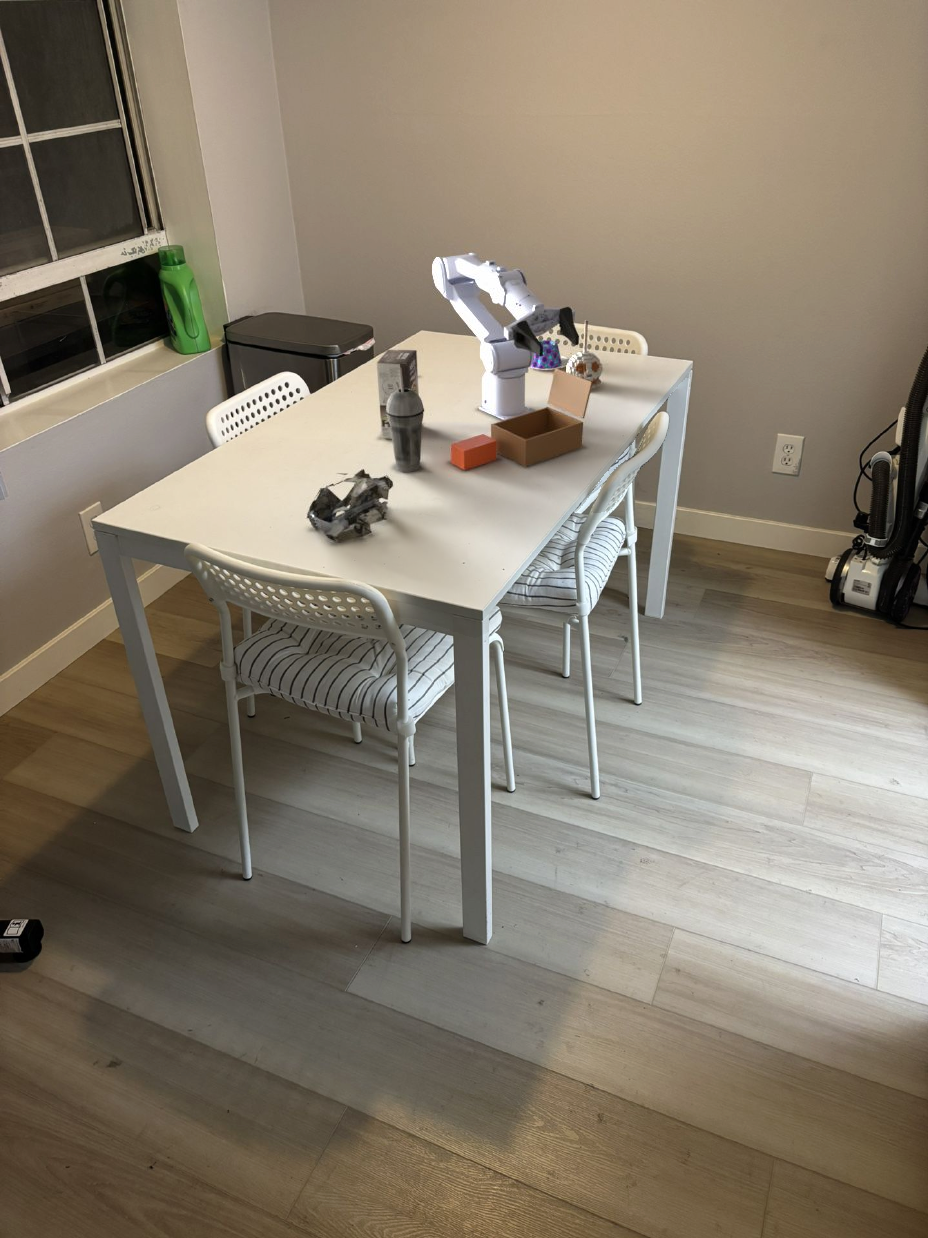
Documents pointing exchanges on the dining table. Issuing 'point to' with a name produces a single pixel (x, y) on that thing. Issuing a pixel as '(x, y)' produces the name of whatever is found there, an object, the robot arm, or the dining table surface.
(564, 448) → the box
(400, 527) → the dining table surface
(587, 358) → the decorative ornament
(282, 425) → the dining table surface
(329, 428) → the dining table surface
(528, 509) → the dining table surface
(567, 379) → the flap
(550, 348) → the pudding
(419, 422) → the beverage cup
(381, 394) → the coffee box
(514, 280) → the robot arm
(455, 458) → the block
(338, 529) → the foil
